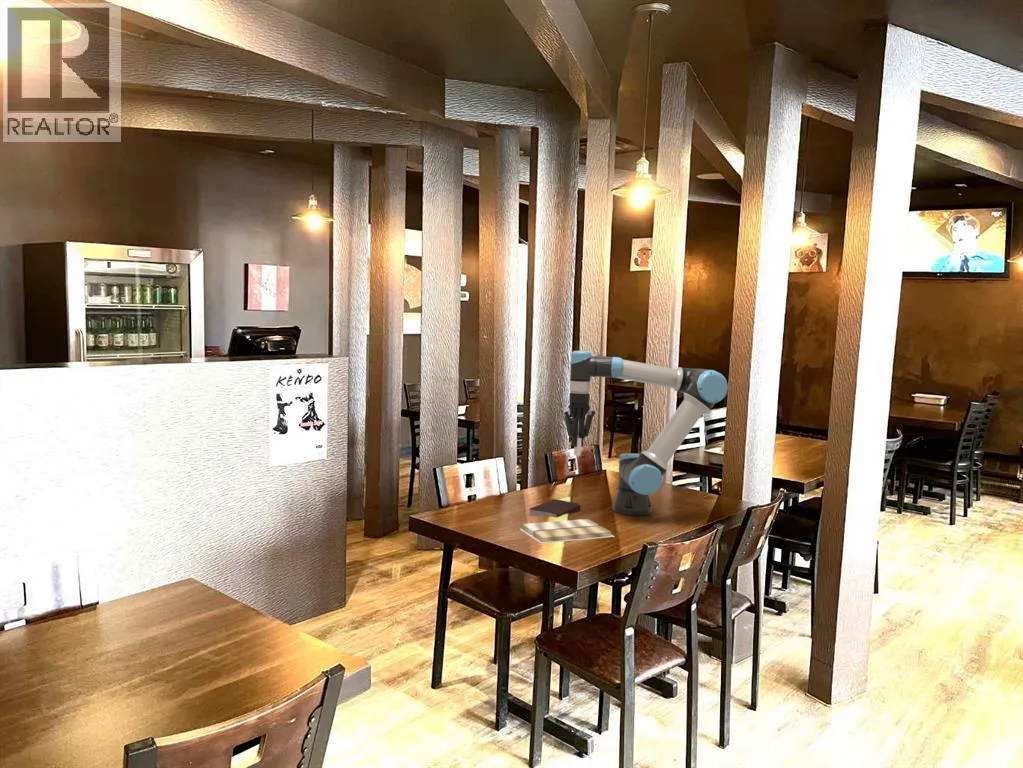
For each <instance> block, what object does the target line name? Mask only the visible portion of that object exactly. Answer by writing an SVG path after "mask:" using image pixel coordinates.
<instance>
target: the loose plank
mask: <svg viewBox="0 0 1023 768" xmlns="http://www.w3.org/2000/svg"><path fill="white" fill-rule="evenodd" d="M596 526H600V525H599V524H598V523H596V522H594V521H593V520H592V519H589V518H583V519H582V518H581V519H572V520H571V519H570V520H569V519H568V520H559V521H558V520H555V521H547V522H546V521H544V522H543V521H542V522H532V523H531V522H530V523H523V524H522V525H521V529H524V530H525V531H527V532H528V533H529V534H531V535H533V532H536V531H548V530H560V529H572V528H584V527H596Z"/></svg>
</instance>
